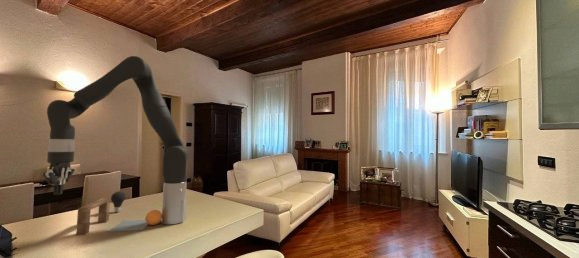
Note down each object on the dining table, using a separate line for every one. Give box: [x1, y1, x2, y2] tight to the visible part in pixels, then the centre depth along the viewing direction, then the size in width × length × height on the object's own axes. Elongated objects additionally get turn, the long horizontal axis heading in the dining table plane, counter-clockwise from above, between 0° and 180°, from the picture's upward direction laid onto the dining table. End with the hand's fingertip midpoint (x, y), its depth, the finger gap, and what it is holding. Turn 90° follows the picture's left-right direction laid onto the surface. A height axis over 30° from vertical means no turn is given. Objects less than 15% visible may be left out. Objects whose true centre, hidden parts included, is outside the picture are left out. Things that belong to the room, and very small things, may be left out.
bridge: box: [75, 197, 111, 236], centre depth 92 cm, size 3×15×10 cm, turn 12°
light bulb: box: [110, 191, 126, 213], centre depth 111 cm, size 6×6×10 cm
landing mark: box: [107, 219, 149, 233], centre depth 94 cm, size 12×12×1 cm
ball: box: [144, 209, 162, 226], centre depth 96 cm, size 6×6×6 cm
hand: (58, 194), depth 90 cm, fingers closed
